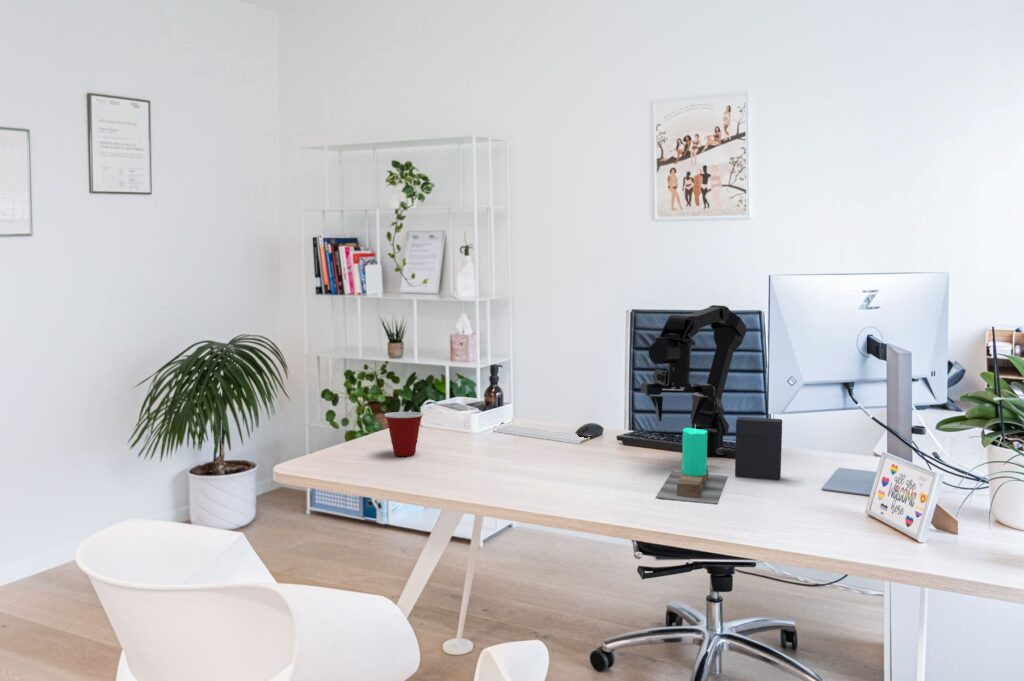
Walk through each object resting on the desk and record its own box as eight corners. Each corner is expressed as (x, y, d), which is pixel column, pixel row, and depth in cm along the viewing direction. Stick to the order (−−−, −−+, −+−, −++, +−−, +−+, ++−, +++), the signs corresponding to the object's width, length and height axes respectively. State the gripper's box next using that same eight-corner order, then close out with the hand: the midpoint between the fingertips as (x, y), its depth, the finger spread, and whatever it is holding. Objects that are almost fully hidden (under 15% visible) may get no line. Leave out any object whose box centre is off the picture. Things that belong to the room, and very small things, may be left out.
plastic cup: (425, 449, 252) (424, 408, 250) (422, 459, 241) (421, 416, 239) (387, 450, 251) (386, 409, 250) (383, 459, 240) (382, 416, 239)
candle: (676, 471, 214) (677, 423, 213) (695, 468, 217) (696, 420, 216) (693, 477, 209) (694, 428, 207) (712, 473, 212) (713, 425, 210)
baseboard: (576, 447, 256) (592, 440, 264) (576, 438, 256) (592, 431, 264) (491, 434, 272) (509, 429, 281) (491, 425, 272) (509, 420, 280)
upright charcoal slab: (780, 476, 221) (782, 418, 219) (780, 481, 217) (781, 421, 215) (736, 473, 225) (737, 415, 223) (734, 477, 221) (736, 419, 219)
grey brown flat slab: (671, 472, 226) (672, 459, 225) (727, 477, 221) (727, 464, 221) (655, 498, 203) (655, 484, 203) (717, 504, 199) (717, 490, 198)
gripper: (701, 360, 240) (697, 417, 241) (635, 358, 236) (632, 416, 237) (717, 364, 229) (714, 423, 230) (649, 362, 225) (646, 422, 226)
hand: (676, 421), depth 231 cm, fingers open, 9 cm apart
